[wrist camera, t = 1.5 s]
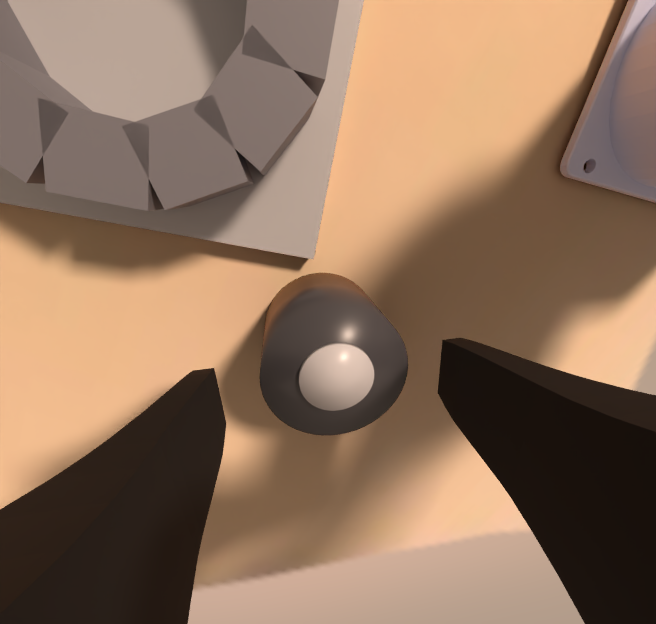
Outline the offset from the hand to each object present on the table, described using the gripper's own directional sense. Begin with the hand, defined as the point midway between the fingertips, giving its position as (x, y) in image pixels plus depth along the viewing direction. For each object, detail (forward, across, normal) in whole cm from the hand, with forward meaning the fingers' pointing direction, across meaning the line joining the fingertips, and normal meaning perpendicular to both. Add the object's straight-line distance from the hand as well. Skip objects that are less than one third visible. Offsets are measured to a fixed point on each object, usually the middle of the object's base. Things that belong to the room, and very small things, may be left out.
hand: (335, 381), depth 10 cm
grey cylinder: (+4, 0, 0) cm, 4 cm away
